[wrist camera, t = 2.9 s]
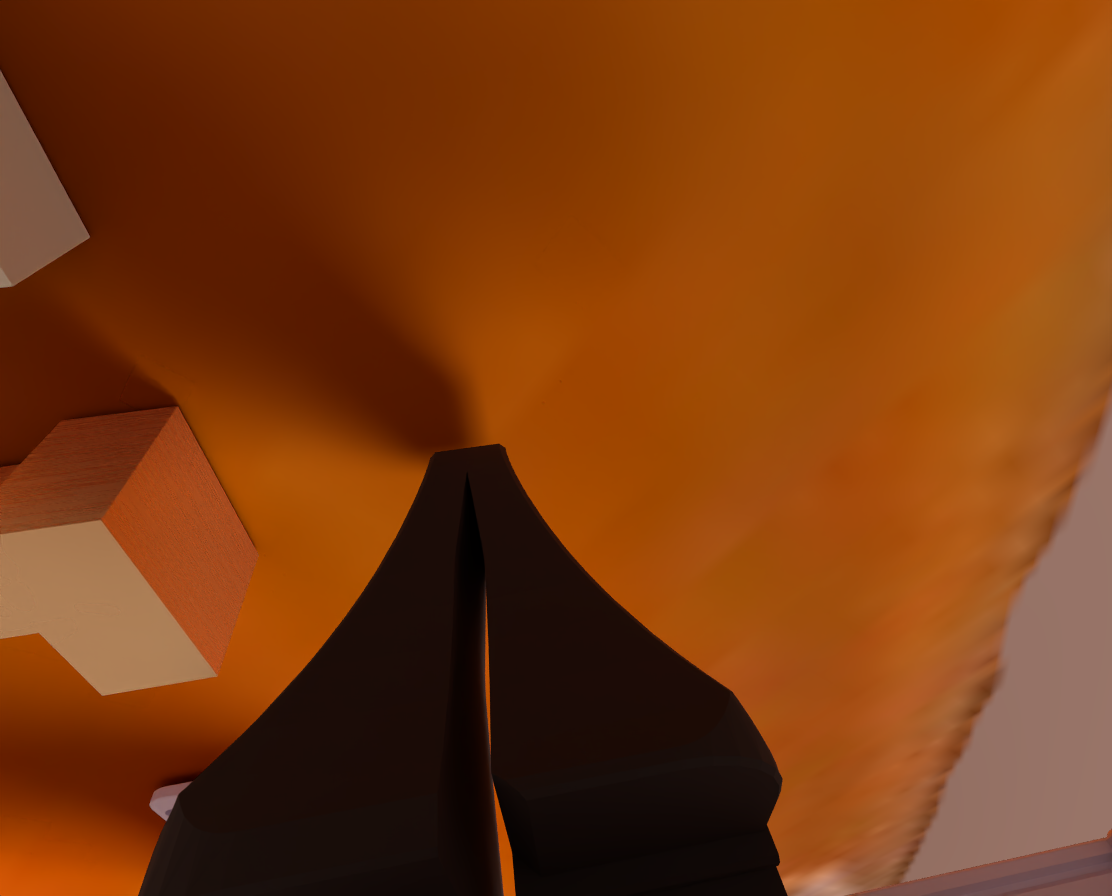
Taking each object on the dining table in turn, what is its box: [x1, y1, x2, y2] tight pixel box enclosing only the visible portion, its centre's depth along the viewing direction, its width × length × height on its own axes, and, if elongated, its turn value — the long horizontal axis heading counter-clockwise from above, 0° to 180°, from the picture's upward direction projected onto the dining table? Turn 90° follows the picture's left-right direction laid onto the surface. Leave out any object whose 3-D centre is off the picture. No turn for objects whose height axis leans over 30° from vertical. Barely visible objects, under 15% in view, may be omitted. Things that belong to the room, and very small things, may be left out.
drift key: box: [0, 406, 259, 696], centre depth 10 cm, size 4×6×3 cm, turn 93°
